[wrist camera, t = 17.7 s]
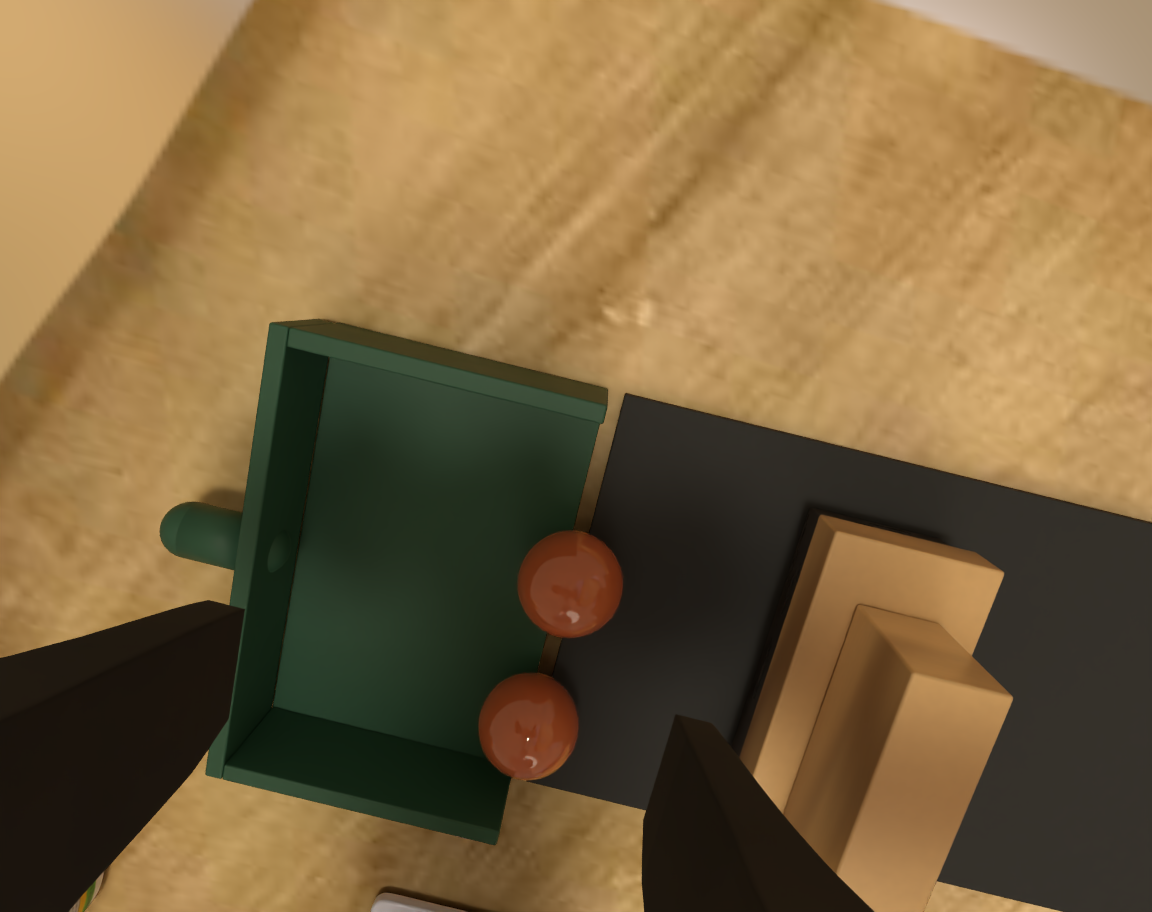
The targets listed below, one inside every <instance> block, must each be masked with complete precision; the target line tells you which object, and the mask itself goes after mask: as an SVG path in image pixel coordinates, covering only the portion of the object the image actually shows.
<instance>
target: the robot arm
mask: <svg viewBox="0 0 1152 912" xmlns="http://www.w3.org/2000/svg"><path fill="white" fill-rule="evenodd" d="M244 612H245V609H243V608H238V607H234V606H230V605H226V604H222V603H218V602H214V601H210V600H207V601H202V602H197V603H193V604H189V605H185V606H182V607H178V608H175V609H171V610H168V611H165V612H161V613H158V614H155V615H151V616H148V617H145V618H142V619H138V620H135V621H132V622H128V623H125V624H122V625H119V626H115V627H112V628H109V629H105V630H102V631H99V632H95V633H92V634H89V635H85V636H82V637H78V638H75V639H71V640H67V641H63V642H60V643H56V644H52V645H49V646H45V647H41V648H37V649H34V650H30V651H26V652H23V653H19V654H15V655H11V656H7V657H3V658H0V912H69V911H70V910H71V908H72V907H73V906H74V905H75V904H76V902H77V901H78V900H79V899H80V898H81V896H82V895H83V894H84V893H85V892H86V891H87V890H88V889H89V887H90V886H91V885H92V884H93V883H94V882H95V881H96V880H97V879H98V877H99V876H100V875H101V874H102V873H103V872H104V871H105V870H106V869H107V867H108V866H109V865H110V864H111V863H112V862H113V861H114V860H115V859H116V857H117V856H118V855H119V854H120V853H121V852H122V851H123V850H124V849H125V847H126V846H127V845H128V844H129V843H130V842H131V841H132V840H133V839H134V837H135V836H136V835H137V834H138V833H139V832H140V831H141V830H142V829H143V827H144V826H145V825H146V824H147V823H148V822H149V821H150V820H151V819H152V817H153V816H154V815H155V814H156V813H157V812H158V811H159V810H160V808H161V807H162V806H163V805H164V804H165V803H166V802H167V801H168V799H169V798H170V797H171V796H172V795H173V794H174V793H175V792H176V790H177V789H178V788H179V787H180V786H181V785H182V784H183V782H184V781H185V780H186V779H187V778H188V777H189V775H190V774H191V773H192V772H193V770H194V769H195V768H196V766H197V765H198V763H199V762H200V761H201V759H202V758H203V756H204V755H205V754H206V752H207V751H208V749H209V748H210V746H211V745H212V743H213V742H214V740H215V739H216V737H217V736H218V734H219V733H220V731H221V730H222V728H223V727H224V725H225V724H226V722H227V721H228V719H229V714H230V707H231V700H232V693H233V687H234V680H235V673H236V666H237V660H238V653H239V646H240V639H241V633H242V626H243V619H244ZM642 890H643V902H644V912H874V911H873V910H872V909H871V908H870V907H869V906H868V905H867V904H866V903H865V902H864V901H863V900H862V899H861V898H860V897H859V896H858V895H857V894H856V893H855V892H854V891H853V890H852V889H851V888H850V887H849V886H848V885H847V884H846V883H845V882H844V881H843V880H842V879H841V878H840V877H839V876H838V875H837V874H836V873H835V872H834V871H833V870H832V869H831V868H830V867H829V866H828V865H827V864H826V863H825V862H824V861H823V860H822V858H821V857H820V856H819V855H818V854H817V853H816V852H815V851H814V849H813V848H812V847H811V846H810V845H809V844H808V843H807V842H806V840H805V839H804V838H803V837H802V836H801V835H800V834H799V832H798V831H797V830H796V829H795V828H794V827H793V826H792V824H791V823H790V822H789V821H788V820H787V818H786V817H785V816H784V815H783V814H782V812H781V811H780V810H779V809H778V807H777V806H776V805H775V804H774V802H773V801H772V800H771V799H770V797H769V796H768V795H767V794H766V792H765V791H764V790H763V788H762V787H761V786H760V785H759V783H758V782H757V781H756V779H755V778H754V777H753V775H752V774H751V773H750V772H749V770H748V769H747V768H746V766H745V765H744V764H743V762H742V761H741V760H740V758H739V757H738V756H737V754H736V753H735V752H734V750H733V749H732V748H731V746H730V745H729V744H728V742H727V741H726V740H725V738H724V737H723V736H722V734H721V733H720V732H719V731H718V729H717V728H716V727H715V726H714V725H713V724H712V723H710V722H706V721H702V720H698V719H694V718H689V717H685V716H681V715H677V714H675V718H674V721H673V724H672V728H671V731H670V734H669V737H668V741H667V744H666V747H665V751H664V754H663V757H662V760H661V764H660V767H659V770H658V774H657V777H656V780H655V783H654V787H653V790H652V793H651V797H650V800H649V803H648V806H647V810H646V813H645V816H644V820H643V846H642ZM371 912H467V911H463V910H459V909H455V908H451V907H447V906H442V905H438V904H434V903H430V902H426V901H422V900H418V899H414V898H409V897H405V896H401V895H397V894H393V893H382V894H380V895H378V896H377V897H376V898H375V901H374V903H373V905H372V908H371Z"/></svg>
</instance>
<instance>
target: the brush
mask: <svg viewBox="0 0 1152 912" xmlns="http://www.w3.org/2000/svg"><path fill="white" fill-rule="evenodd" d="M1003 577H1004V572H1003V571H1002V570H1000V569H999V568H997V567H996V566H994V565H993V564H992V563H990V562H989V561H987V560H986V559H984V558H983V557H982V556H980V555H979V554H977V553H976V552H972V551H968V550H964V549H960V548H956V547H952V546H949V545H948V544H946V543H945V542H944V541H942V540H941V539H938V538H933V537H929V536H925V535H921V534H917V533H913V532H909V531H905V530H901V529H897V528H893V527H889V526H885V525H881V524H877V523H872V522H868V521H864V520H860V519H856V518H852V517H848V516H844V515H840V514H836V513H832V512H828V511H824V510H820V509H816V508H810V510H809V512H808V515H807V518H806V521H805V524H804V527H803V530H802V533H801V536H800V539H799V542H798V546H797V549H796V552H795V555H794V558H793V561H792V564H791V567H790V570H789V573H788V576H787V579H786V582H785V585H784V588H783V591H782V594H781V597H780V600H779V604H778V607H777V610H776V613H775V616H774V619H773V622H772V625H771V628H770V631H769V634H768V637H767V640H766V643H765V646H764V649H763V652H762V655H761V658H760V661H759V665H758V668H757V671H756V674H755V677H754V680H753V683H752V686H751V689H750V692H749V695H748V698H747V701H746V704H745V707H744V710H743V713H742V716H741V719H740V723H739V726H738V729H737V732H736V735H735V738H734V741H733V744H732V747H731V748H732V749H733V750H734V752H735V753H736V754H737V756H738V757H739V758H740V760H741V761H742V762H743V764H744V765H745V766H746V768H747V769H748V770H749V772H750V773H751V774H752V775H753V777H754V778H755V779H756V781H757V782H758V783H759V785H760V786H761V787H762V788H763V790H764V791H765V792H766V794H767V795H768V796H769V797H770V799H771V800H772V801H773V802H774V804H775V805H776V806H777V807H778V809H779V810H780V811H781V812H782V814H783V815H784V816H785V817H786V818H787V820H788V821H789V822H790V823H791V824H792V826H793V827H794V828H795V829H796V830H797V831H798V832H799V834H800V835H801V836H802V837H803V838H804V839H805V840H806V842H807V843H808V844H809V845H810V846H811V847H812V848H813V849H814V851H815V852H816V853H817V854H818V855H819V856H820V857H821V858H822V860H823V861H824V862H825V863H826V864H827V865H828V866H829V867H830V868H831V869H832V870H833V871H834V872H835V873H836V874H837V875H838V876H839V877H840V878H841V879H842V880H843V881H844V882H845V883H846V884H847V885H848V886H849V887H850V888H851V889H852V890H853V891H854V892H855V893H856V894H857V895H858V896H859V897H860V898H861V899H862V900H863V901H864V902H865V903H866V904H867V905H868V906H869V907H870V908H871V909H872V910H873V911H874V912H924V910H925V908H926V905H927V903H928V901H929V898H930V896H931V893H932V891H933V889H934V886H935V884H936V882H937V879H938V877H939V874H940V872H941V870H942V867H943V865H944V862H945V860H946V858H947V855H948V853H949V851H950V848H951V846H952V843H953V841H954V839H955V836H956V834H957V832H958V829H959V827H960V824H961V822H962V820H963V817H964V815H965V813H966V810H967V808H968V805H969V803H970V801H971V798H972V796H973V794H974V791H975V789H976V786H977V784H978V782H979V779H980V777H981V775H982V772H983V770H984V767H985V765H986V763H987V760H988V758H989V755H990V753H991V751H992V748H993V746H994V744H995V741H996V739H997V736H998V734H999V732H1000V729H1001V727H1002V725H1003V722H1004V720H1005V717H1006V715H1007V713H1008V710H1009V708H1010V706H1011V703H1012V701H1013V697H1012V695H1011V694H1010V693H1009V692H1008V691H1007V690H1006V689H1005V688H1004V687H1003V686H1002V685H1001V684H1000V683H999V682H998V681H997V680H996V679H995V678H994V677H993V676H991V675H990V674H989V673H988V672H987V671H986V670H985V669H984V668H983V667H982V666H981V665H980V664H979V663H978V662H977V661H976V660H975V659H974V658H973V657H972V654H973V652H974V649H975V647H976V644H977V642H978V639H979V637H980V634H981V632H982V629H983V627H984V624H985V622H986V619H987V617H988V614H989V612H990V609H991V607H992V604H993V602H994V599H995V597H996V594H997V592H998V589H999V587H1000V584H1001V582H1002V579H1003Z"/></svg>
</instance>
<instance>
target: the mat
mask: <svg viewBox="0 0 1152 912" xmlns="http://www.w3.org/2000/svg"><path fill="white" fill-rule="evenodd" d="M810 508H816V509H820V510H824V511H828V512H832V513H836V514H840V515H844V516H848V517H852V518H856V519H860V520H864V521H868V522H872V523H877V524H881V525H885V526H889V527H893V528H897V529H901V530H905V531H909V532H913V533H917V534H921V535H925V536H929V537H933V538H938V539H941V540H942V541H944V542H945V543H946V544H948V545H949V546H952V547H956V548H960V549H964V550H968V551H972V552H976V553H977V554H979V555H980V556H982V557H983V558H984V559H986V560H987V561H989V562H990V563H992V564H993V565H994V566H996V567H997V568H999V569H1000V570H1002V571H1003V572H1004V577H1003V579H1002V582H1001V584H1000V587H999V589H998V592H997V594H996V597H995V599H994V602H993V604H992V607H991V609H990V612H989V614H988V617H987V619H986V622H985V624H984V627H983V629H982V632H981V634H980V637H979V639H978V642H977V644H976V647H975V649H974V652H973V654H972V657H973V658H974V659H975V660H976V661H977V662H978V663H979V664H980V665H981V666H982V667H983V668H984V669H985V670H986V671H987V672H988V673H989V674H990V675H991V676H993V677H994V678H995V679H996V680H997V681H998V682H999V683H1000V684H1001V685H1002V686H1003V687H1004V688H1005V689H1006V690H1007V691H1008V692H1009V693H1010V694H1011V695H1012V697H1013V701H1012V703H1011V706H1010V708H1009V710H1008V713H1007V715H1006V717H1005V720H1004V722H1003V725H1002V727H1001V729H1000V732H999V734H998V736H997V739H996V741H995V744H994V746H993V748H992V751H991V753H990V755H989V758H988V760H987V763H986V765H985V767H984V770H983V772H982V775H981V777H980V779H979V782H978V784H977V786H976V789H975V791H974V794H973V796H972V798H971V801H970V803H969V805H968V808H967V810H966V813H965V815H964V817H963V820H962V822H961V824H960V827H959V829H958V832H957V834H956V836H955V839H954V841H953V843H952V846H951V848H950V851H949V853H948V855H947V858H946V860H945V862H944V865H943V867H942V870H941V872H940V874H939V877H938V879H937V881H939V882H943V883H947V884H951V885H955V886H959V887H964V888H968V889H972V890H976V891H980V892H984V893H988V894H992V895H996V896H1001V897H1005V898H1009V899H1013V900H1017V901H1021V902H1025V903H1029V904H1033V905H1038V906H1042V907H1046V908H1050V909H1054V910H1058V911H1062V912H1152V523H1151V522H1147V521H1143V520H1139V519H1135V518H1130V517H1126V516H1122V515H1118V514H1114V513H1110V512H1106V511H1102V510H1098V509H1094V508H1090V507H1086V506H1082V505H1078V504H1074V503H1070V502H1066V501H1061V500H1057V499H1053V498H1049V497H1045V496H1041V495H1037V494H1033V493H1029V492H1025V491H1021V490H1017V489H1013V488H1009V487H1005V486H1001V485H997V484H992V483H988V482H984V481H980V480H976V479H972V478H968V477H964V476H960V475H956V474H952V473H948V472H944V471H940V470H936V469H932V468H928V467H923V466H919V465H915V464H911V463H907V462H903V461H899V460H895V459H891V458H887V457H883V456H879V455H875V454H871V453H867V452H863V451H859V450H854V449H850V448H846V447H842V446H838V445H834V444H830V443H826V442H822V441H818V440H814V439H810V438H806V437H802V436H798V435H794V434H790V433H785V432H781V431H777V430H773V429H769V428H765V427H761V426H757V425H753V424H749V423H745V422H741V421H737V420H733V419H729V418H725V417H721V416H716V415H712V414H708V413H704V412H700V411H696V410H692V409H688V408H684V407H680V406H676V405H672V404H668V403H664V402H660V401H656V400H652V399H647V398H643V397H639V396H635V395H631V394H627V393H625V396H624V400H623V404H622V407H621V411H620V415H619V419H618V423H617V427H616V431H615V435H614V439H613V442H612V446H611V450H610V454H609V458H608V462H607V466H606V470H605V473H604V477H603V481H602V485H601V489H600V493H599V497H598V501H597V504H596V508H595V512H594V516H593V520H592V524H591V528H590V532H589V534H592V535H594V536H596V537H597V538H599V539H600V540H602V541H603V542H604V543H605V544H606V545H608V546H609V547H610V549H611V550H612V551H613V552H614V554H615V556H616V557H617V559H618V561H619V563H620V566H621V569H622V573H623V580H624V588H623V596H622V600H621V603H620V605H619V608H618V609H617V611H616V613H615V615H614V616H613V617H612V619H611V620H610V621H609V622H608V623H607V624H606V625H605V626H604V627H603V628H601V629H600V630H598V631H597V632H595V633H592V634H590V635H588V636H585V637H580V638H571V639H567V638H562V640H561V644H560V648H559V652H558V656H557V660H556V664H555V667H554V671H553V675H552V677H553V678H554V679H556V680H557V681H559V682H560V683H561V684H562V685H563V686H564V687H565V688H566V689H567V690H568V691H569V693H570V694H571V696H572V697H573V699H574V702H575V704H576V706H577V710H578V714H579V736H578V740H577V743H576V746H575V749H574V751H573V753H572V754H571V756H570V757H569V759H568V760H567V761H566V763H565V764H564V765H563V766H562V767H561V768H560V769H558V770H557V771H556V772H554V773H552V774H551V775H549V776H546V777H544V778H541V779H537V780H526V781H527V782H532V783H536V784H540V785H544V786H548V787H552V788H556V789H560V790H564V791H569V792H573V793H577V794H581V795H585V796H589V797H593V798H597V799H601V800H606V801H610V802H614V803H618V804H622V805H626V806H630V807H634V808H639V809H643V810H647V806H648V803H649V800H650V797H651V793H652V790H653V787H654V783H655V780H656V777H657V774H658V770H659V767H660V764H661V760H662V757H663V754H664V751H665V747H666V744H667V741H668V737H669V734H670V731H671V728H672V724H673V721H674V718H675V714H677V715H681V716H685V717H689V718H694V719H698V720H702V721H706V722H710V723H712V724H713V725H714V726H715V727H716V728H717V729H718V731H719V732H720V733H721V734H722V736H723V737H724V738H725V740H726V741H727V742H728V744H729V745H730V746H731V747H732V744H733V741H734V738H735V735H736V732H737V729H738V726H739V723H740V719H741V716H742V713H743V710H744V707H745V704H746V701H747V698H748V695H749V692H750V689H751V686H752V683H753V680H754V677H755V674H756V671H757V668H758V665H759V661H760V658H761V655H762V652H763V649H764V646H765V643H766V640H767V637H768V634H769V631H770V628H771V625H772V622H773V619H774V616H775V613H776V610H777V607H778V604H779V600H780V597H781V594H782V591H783V588H784V585H785V582H786V579H787V576H788V573H789V570H790V567H791V564H792V561H793V558H794V555H795V552H796V549H797V546H798V542H799V539H800V536H801V533H802V530H803V527H804V524H805V521H806V518H807V515H808V512H809V510H810Z"/></svg>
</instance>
